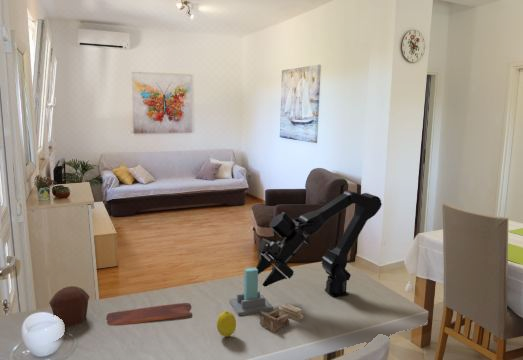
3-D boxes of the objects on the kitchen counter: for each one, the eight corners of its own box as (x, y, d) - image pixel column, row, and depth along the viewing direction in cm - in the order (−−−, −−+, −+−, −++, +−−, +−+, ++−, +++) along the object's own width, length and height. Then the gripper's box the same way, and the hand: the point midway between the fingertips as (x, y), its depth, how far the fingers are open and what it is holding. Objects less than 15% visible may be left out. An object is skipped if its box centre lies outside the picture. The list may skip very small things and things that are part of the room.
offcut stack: (283, 310, 140) (283, 302, 139) (303, 318, 134) (303, 309, 134) (277, 313, 137) (277, 305, 137) (297, 322, 132) (297, 313, 132)
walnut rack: (275, 317, 134) (275, 305, 134) (289, 324, 130) (289, 312, 129) (259, 325, 129) (260, 312, 129) (274, 332, 125) (274, 319, 124)
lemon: (237, 340, 120) (238, 314, 119) (218, 343, 119) (218, 317, 118) (233, 330, 126) (233, 305, 124) (215, 333, 124) (215, 308, 123)
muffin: (85, 327, 126) (84, 296, 124) (45, 330, 124) (43, 299, 122) (93, 309, 137) (91, 280, 136) (56, 311, 135) (54, 282, 133)
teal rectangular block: (255, 300, 143) (255, 267, 141) (257, 303, 141) (258, 270, 139) (243, 302, 142) (244, 268, 140) (246, 305, 140) (246, 271, 138)
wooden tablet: (190, 305, 143) (190, 300, 143) (193, 319, 133) (193, 314, 133) (107, 313, 136) (106, 308, 136) (104, 329, 126) (104, 324, 126)
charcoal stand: (262, 297, 148) (262, 287, 148) (272, 310, 139) (273, 300, 138) (229, 302, 144) (229, 292, 144) (238, 315, 135) (238, 305, 134)
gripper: (264, 223, 149) (234, 256, 147) (285, 239, 131) (251, 277, 129) (284, 242, 153) (255, 275, 151) (307, 260, 135) (275, 297, 133)
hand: (258, 280), depth 141 cm, fingers open, 9 cm apart
